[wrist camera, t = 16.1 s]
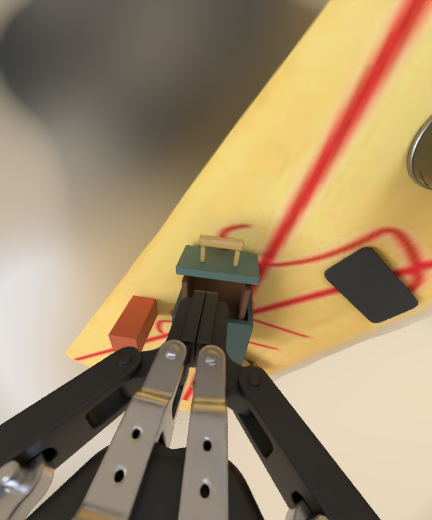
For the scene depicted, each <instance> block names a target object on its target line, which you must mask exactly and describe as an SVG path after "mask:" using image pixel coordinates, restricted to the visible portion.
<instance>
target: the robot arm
mask: <svg viewBox="0 0 432 520" xmlns="http://www.w3.org/2000/svg"><path fill="white" fill-rule="evenodd" d="M407 169H408V173H409V175H410V177H411V179H412V180H413V181H414V182H415V183H416V184H418V185H420V186H422V187H424V188H427V189H430V190H432V116H431V117H430V118H429V119H428V120H427V121H426V122H425V123H424V125H423V126H422V127H421V129H420V130H419V131H418V133H417V135H416V136H415V138H414V140H413V142H412V144H411V146H410V149H409V153H408V157H407ZM228 313H229V309H228V306H227V304H226V302H219V301H218V293H216V292H209V291H207V294H206V291H201V290H194V293H193V297H192V298H189V297H185V298H184V299H183V300H182V301H181V302H180V303H179V306H178V309H177V312H176V314H175V317H174V320H173V323H172V326H171V329H170V332H169V335H168V338H167V340H166V341H165V343H163V344H162V345H161V346H160V347H159V348H157V349H154V350H150V351H144V352H140V351H139V350H138V349H137V348H135V347H131V346H128V347H123V348H121V349H119V350H117V351H116V352H114V353H113V354H111V355H110V356H108V357H106V358H105V359H103V360H102V361H100V362H99V363H97V364H95V365H94V366H92V367H91V368H89V369H88V370H86V371H84V372H83V373H81V374H80V375H78V376H77V377H75V378H73V379H72V380H71V381H69V382H67V383H66V384H64V385H63V386H61V387H59V388H58V389H56V390H55V391H53V392H52V393H50V394H48V395H47V396H45V397H44V398H42V399H41V400H39V401H38V402H36V403H34V404H33V405H31V406H29V407H28V408H26V409H25V410H23V411H22V412H20V413H18V414H17V415H15V416H14V417H12V418H11V419H9V420H7V421H6V422H4V423H3V424H1V425H0V520H264V518H263V516H262V514H261V512H260V509H259V507H258V505H257V503H256V501H255V499H254V497H253V495H252V492H251V490H250V488H249V486H248V484H247V482H246V480H245V479H244V477H243V475H242V474H241V473H240V471H239V470H238V469H237V467H236V466H235V465H234V464H233V463H232V462H231V461H229V460H228V426H227V425H228V423H227V407H229V408H230V409H232V410H233V412H234V414H235V415H236V418H237V419H238V421H239V423H240V424H241V426H242V428H243V430H244V431H245V433H246V435H247V437H248V438H249V440H250V442H251V443H252V445H253V447H254V449H255V450H256V452H257V454H258V455H259V457H260V459H261V461H262V462H263V464H264V466H265V468H266V469H267V471H268V473H269V475H270V476H271V478H272V480H273V482H274V483H275V485H276V487H277V488H278V490H279V492H280V493H281V495H282V497H283V499H284V501H285V502H286V504H287V506H288V507H289V510H288V512H287V515H286V519H285V520H380V518H379V517H378V516H377V514H376V513H375V512H374V511H373V509H372V508H371V507H370V506H369V505H368V503H367V502H366V500H365V499H364V498H363V497H362V495H361V494H360V493H359V491H358V490H357V489H356V488H355V486H354V485H353V484H352V482H351V481H350V480H349V479H348V478H347V476H346V475H345V473H344V472H343V471H342V470H341V469H340V467H339V466H338V465H337V463H336V462H335V461H334V459H333V458H332V457H331V456H330V454H329V453H328V452H327V450H326V449H325V448H324V447H323V445H322V444H321V443H320V441H319V440H318V439H317V438H316V436H315V435H314V434H313V432H312V431H311V430H310V429H309V427H308V426H307V425H306V424H305V422H304V421H303V420H302V418H301V417H300V416H299V415H298V413H297V412H296V411H295V409H294V408H293V407H292V406H291V404H290V403H289V402H288V401H287V399H286V398H285V397H284V395H283V394H282V393H281V391H280V390H279V389H278V388H277V387H276V385H275V384H274V383H273V381H272V380H271V379H270V377H269V376H268V375H267V374H266V372H265V371H264V370H263V369H262V368H260V367H258V366H255V365H248V366H246V367H244V366H242V365H240V364H238V363H236V362H234V361H233V360H232V359H231V358H230V357H229V356H228V354H227V351H226V339H227V326H228ZM195 360H196V361H195ZM194 365H195V368H196V373H195V382H194V390H193V399H192V404H191V412H190V421H189V430H188V438H187V447H185V448H179V449H170V448H169V446H170V442H171V439H172V434H173V429H174V423H175V419H176V416H177V412H178V409H179V406H180V402H181V399H182V395H183V392H184V388H185V385H186V381H187V377H188V373H189V368H190V367H193V368H194ZM124 411H125V413H124V416H123V418H122V420H121V422H120V424H119V426H118V428H117V430H116V433H115V435H114V437H113V439H112V441H111V443H110V445H109V446H107V447H105V448H104V449H102V450H101V451H99V452H98V453H97V454H95V455H94V456H93V457H92V458H91V459H90V460H89V461H88V462H86V463H85V465H83V466H82V467H81V468H80V469H79V470H78V471H77V472H76V473H75V474H74V475H73V476H72V477H70V478H69V479H68V480H67V481H66V482H65V483H64V484H63V485H62V486H61V487H60V488H59V489H58V490H57V491H55V492H54V493H53V494H52V495H51V496H50V497H49V498H48V499H47V500H46V501H45V502H44V503H43V504H41V505H40V506H39V507H38V508H37V509H36V510H35V511H34V512H33V513H32V514H31V515H30V516H29V517H28V518H27V519H25V518H26V517H27V515H28V514H29V512H30V511H31V510H32V508H33V507H34V506H35V505H36V504H37V503H38V502H39V501H40V500H41V499H42V498H43V496H44V495H45V494H46V492H47V491H48V489H49V487H50V485H51V483H52V479H53V476H54V470H55V469H56V468H58V467H59V466H60V465H61V464H62V463H63V462H65V461H66V460H67V459H68V458H69V457H71V456H72V455H73V454H74V453H75V452H76V451H78V450H79V449H80V448H81V447H83V446H84V445H85V444H86V443H87V442H89V441H90V440H91V439H92V438H93V437H95V436H96V435H97V434H98V433H99V432H101V431H102V430H103V429H104V428H105V427H106V426H108V425H109V424H110V423H111V422H112V421H114V420H115V419H116V418H117V417H118V416H120V415H121V414H122V413H123V412H124Z"/></svg>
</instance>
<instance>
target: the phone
mask: <svg viewBox="0 0 432 520" xmlns="http://www.w3.org/2000/svg"><path fill="white" fill-rule="evenodd" d="M325 277H326V279H327V280H328V281H329V282H330V283H331V284H332V285H333V286H334V287H335V288H336V289H337V290H338V291H339V292H340V293H341V294H342V295H343V296H344V297H346V298H347V299H348V300H349V301H350V302H351V303H352V304H353V305H354V306H355V307H356V308H357V309H358V310H359V311H360V312H361V313H362V314H363V315H364V316H365V317H366V318H367V319H368V320H370V321H371V322H373V323H380V322H382V321H385V320H387V319H390V318H392V317H394V316H397V315H399V314H401V313H404V312H406V311H408V310H411V309H413V308H415V307H416V306H417V305H418V301H417V300H416V298H415V297H414V295H413V294H411V293H410V291H409V290H408V288H407V287H406V286H405V285H404V284H403V283H402V282H401V281H400V280H399V279H398V278H397V276H396V275H395V274H394V273H393V272H392V271H391V270H390V268H389V267H388V266H387V265H386V264H385V263H384V262H383V260H382V259H381V258H380V257H379V256H378V255H377V253H376V252H375V251H374V250H373V249H371V248H368V247H367V248H362V249H360V250H358V251H357V252H355V253H353V254H352V255H350V256H349V257H347V258H345V259H344V260H342V261H340V262H339V263H337V264H336V265H334V266H332V267H331V268H329V269H328V270H327V271H326V272H325Z"/></svg>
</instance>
